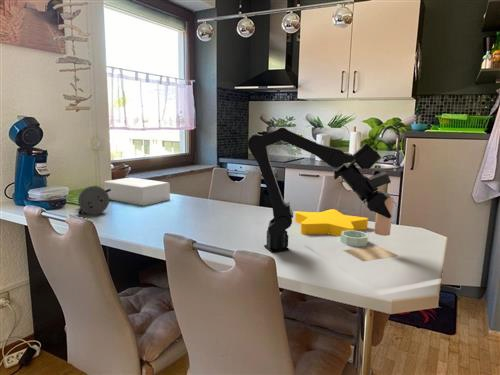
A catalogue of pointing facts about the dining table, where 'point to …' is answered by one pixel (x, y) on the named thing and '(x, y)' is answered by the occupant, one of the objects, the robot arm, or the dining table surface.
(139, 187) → the box
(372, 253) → the board
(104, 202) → the toy
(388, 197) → the peach cylinder with balls
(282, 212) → the robot arm
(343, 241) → the bowl
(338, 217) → the star
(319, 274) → the dining table surface
